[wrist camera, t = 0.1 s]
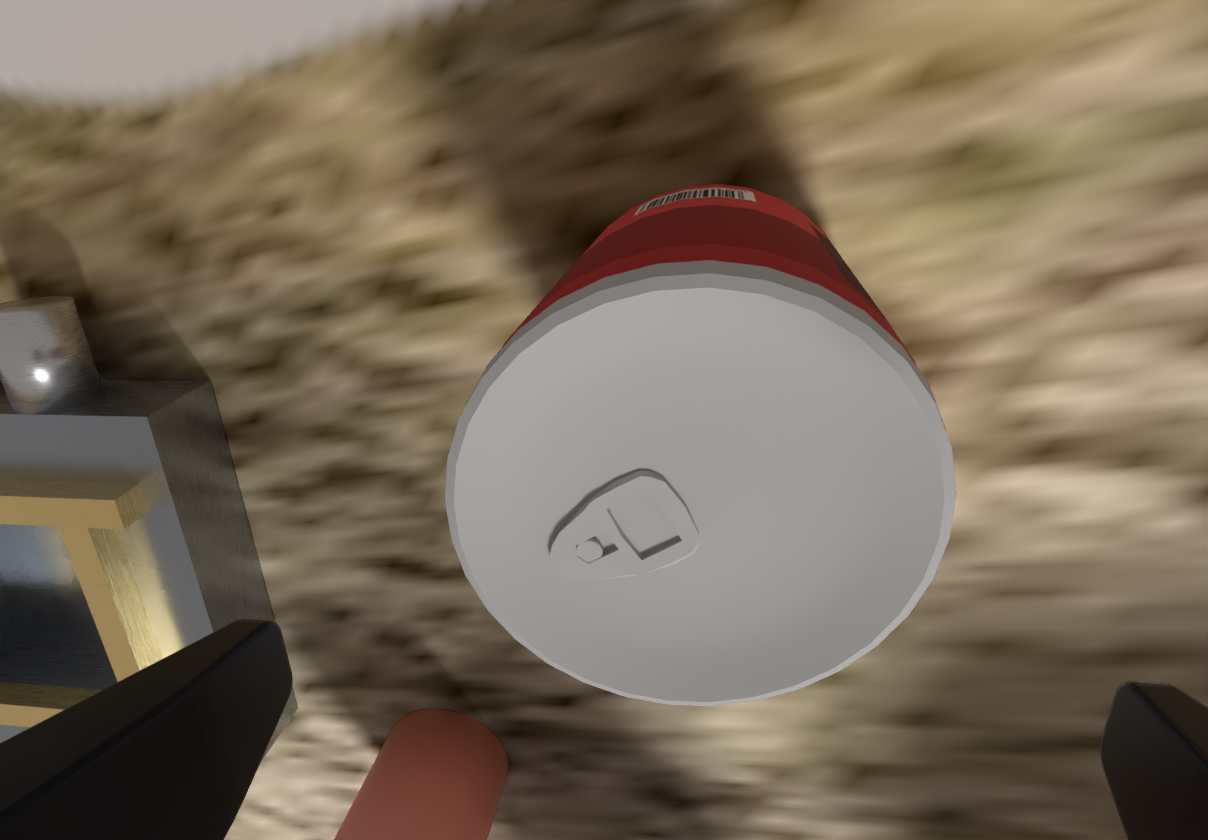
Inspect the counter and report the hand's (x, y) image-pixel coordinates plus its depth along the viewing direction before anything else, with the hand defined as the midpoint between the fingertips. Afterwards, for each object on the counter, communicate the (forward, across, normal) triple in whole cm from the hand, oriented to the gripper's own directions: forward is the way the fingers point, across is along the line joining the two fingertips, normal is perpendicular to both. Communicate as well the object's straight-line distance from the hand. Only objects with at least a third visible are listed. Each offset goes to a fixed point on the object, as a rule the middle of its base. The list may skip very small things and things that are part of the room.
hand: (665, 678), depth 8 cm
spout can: (+15, +10, +18) cm, 25 cm away
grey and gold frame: (+15, +23, +8) cm, 28 cm away
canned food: (+15, 0, 0) cm, 15 cm away
